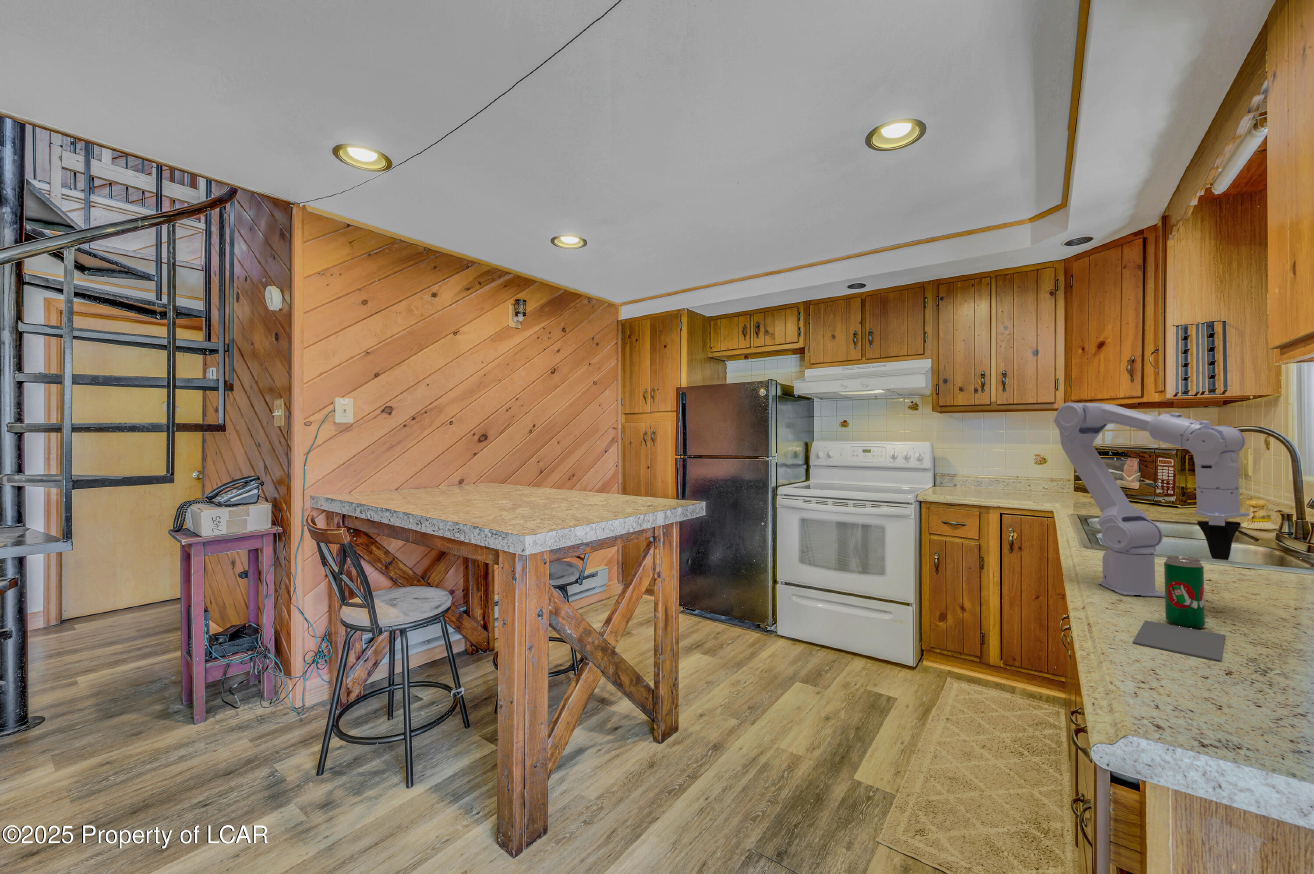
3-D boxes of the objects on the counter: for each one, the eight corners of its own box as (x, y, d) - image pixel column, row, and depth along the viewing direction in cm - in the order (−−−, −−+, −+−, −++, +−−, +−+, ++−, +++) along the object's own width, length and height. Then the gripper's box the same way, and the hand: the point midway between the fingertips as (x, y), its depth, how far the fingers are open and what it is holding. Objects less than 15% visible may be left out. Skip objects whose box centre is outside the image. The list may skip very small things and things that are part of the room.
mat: (1145, 621, 96) (1145, 620, 96) (1225, 636, 89) (1225, 634, 89) (1132, 643, 86) (1132, 641, 86) (1221, 661, 79) (1221, 660, 79)
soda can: (1187, 620, 97) (1185, 555, 97) (1213, 630, 92) (1212, 561, 92) (1157, 619, 97) (1156, 555, 97) (1182, 629, 92) (1180, 561, 92)
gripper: (1248, 491, 93) (1251, 568, 93) (1248, 486, 102) (1251, 556, 102) (1191, 490, 98) (1194, 562, 98) (1197, 485, 108) (1200, 551, 107)
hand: (1220, 558), depth 100 cm, fingers closed
